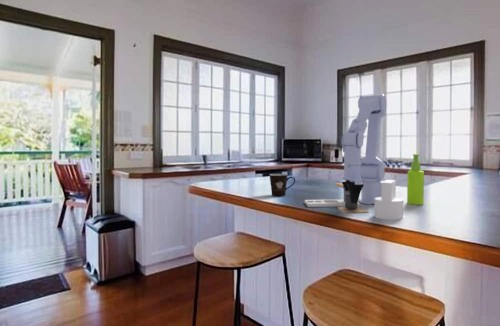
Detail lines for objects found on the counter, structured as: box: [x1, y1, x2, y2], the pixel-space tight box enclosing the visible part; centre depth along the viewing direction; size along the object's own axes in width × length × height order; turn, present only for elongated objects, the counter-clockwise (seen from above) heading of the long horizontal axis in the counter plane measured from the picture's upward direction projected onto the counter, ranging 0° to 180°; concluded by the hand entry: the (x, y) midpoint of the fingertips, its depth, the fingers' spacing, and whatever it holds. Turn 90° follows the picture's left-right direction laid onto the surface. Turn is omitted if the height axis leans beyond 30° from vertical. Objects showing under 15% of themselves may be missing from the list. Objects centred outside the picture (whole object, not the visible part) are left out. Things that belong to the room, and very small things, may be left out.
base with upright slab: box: [373, 179, 404, 221], centre depth 113 cm, size 9×9×12 cm
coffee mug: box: [269, 173, 296, 197], centre depth 160 cm, size 12×9×10 cm
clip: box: [334, 182, 344, 190], centre depth 141 cm, size 12×3×1 cm, turn 5°
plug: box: [344, 190, 358, 209], centre depth 124 cm, size 5×5×6 cm
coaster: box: [336, 206, 369, 214], centre depth 124 cm, size 9×9×1 cm
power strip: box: [304, 189, 360, 208], centre depth 136 cm, size 20×9×6 cm, turn 89°
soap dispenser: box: [406, 153, 425, 206], centre depth 135 cm, size 6×7×20 cm
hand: (352, 201), depth 124 cm, fingers closed on plug, 5 cm apart
